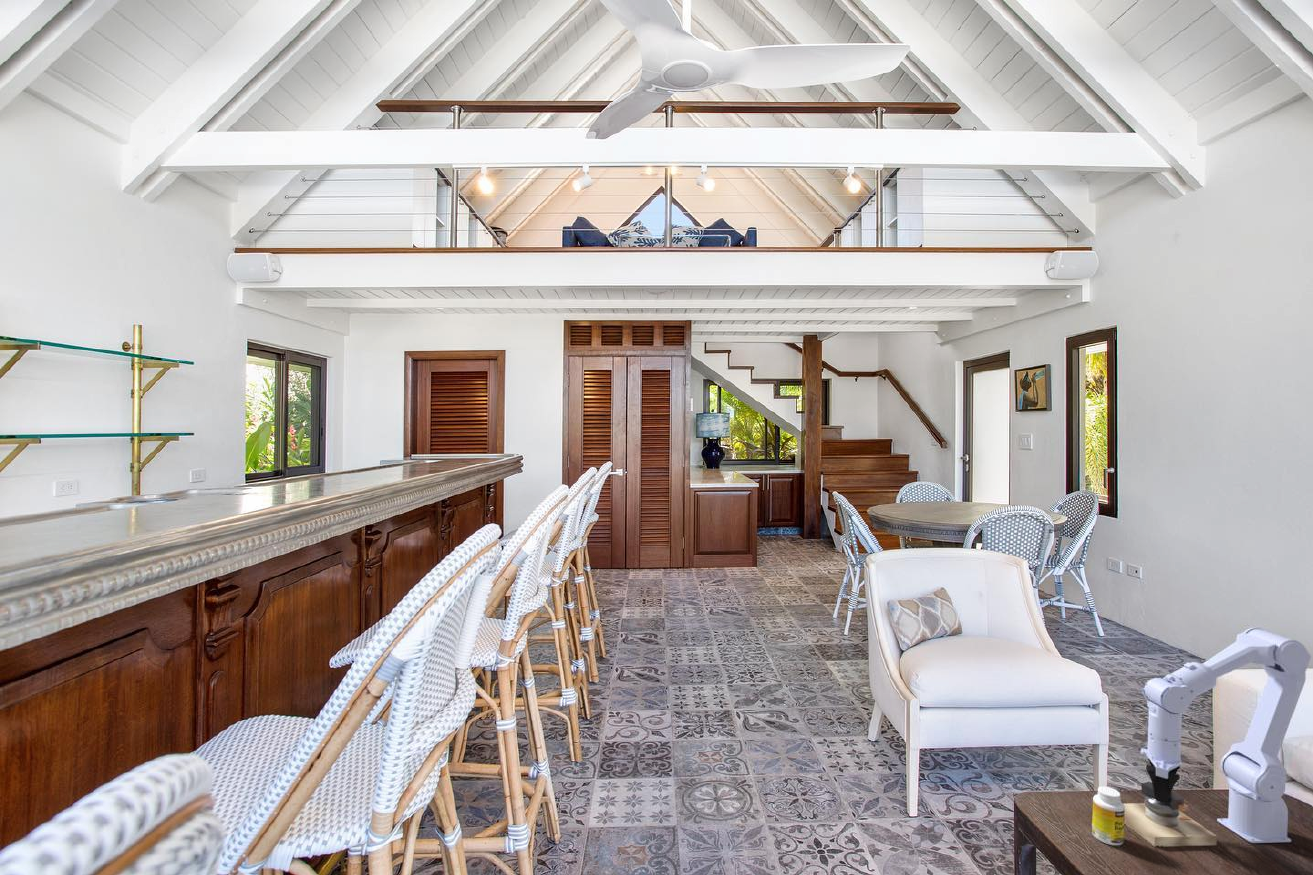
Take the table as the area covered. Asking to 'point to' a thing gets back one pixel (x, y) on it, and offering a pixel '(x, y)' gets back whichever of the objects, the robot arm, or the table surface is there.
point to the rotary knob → (1160, 807)
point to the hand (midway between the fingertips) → (1162, 796)
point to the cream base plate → (1166, 828)
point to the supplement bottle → (1108, 816)
